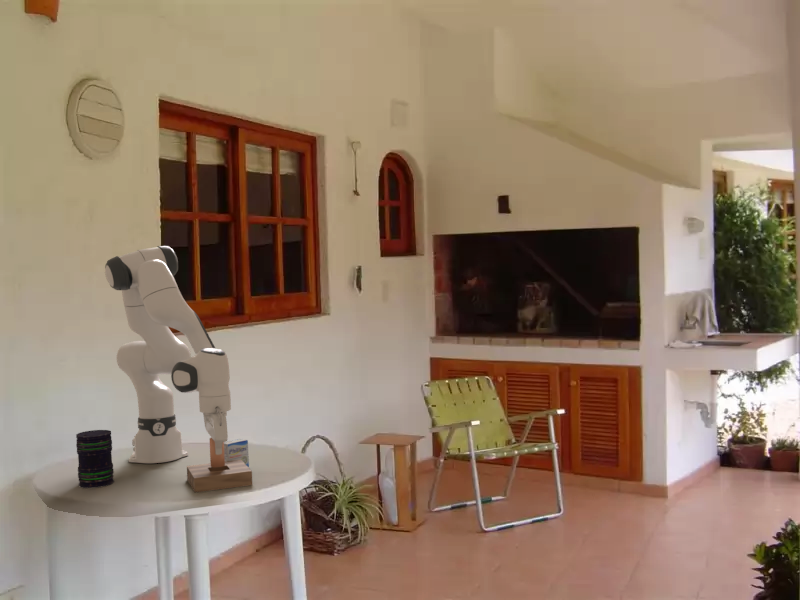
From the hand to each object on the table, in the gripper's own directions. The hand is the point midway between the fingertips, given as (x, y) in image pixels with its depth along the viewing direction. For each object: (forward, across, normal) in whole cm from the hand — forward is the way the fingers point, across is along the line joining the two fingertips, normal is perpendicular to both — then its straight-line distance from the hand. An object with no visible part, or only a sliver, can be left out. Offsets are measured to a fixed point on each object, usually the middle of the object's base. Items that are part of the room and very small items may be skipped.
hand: (217, 452), depth 243 cm
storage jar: (+9, +16, +33) cm, 38 cm away
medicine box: (+9, +14, -7) cm, 18 cm away
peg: (+4, 0, 0) cm, 4 cm away
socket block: (+9, 0, 0) cm, 9 cm away
